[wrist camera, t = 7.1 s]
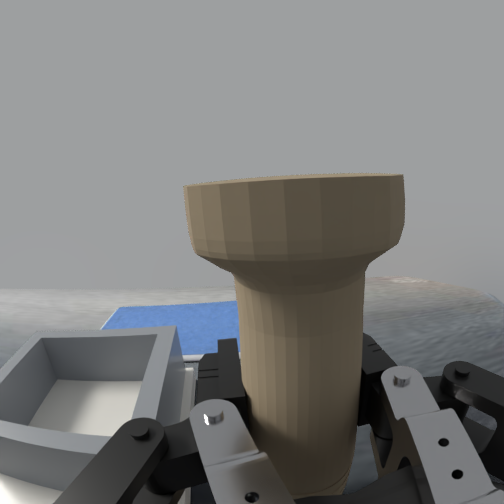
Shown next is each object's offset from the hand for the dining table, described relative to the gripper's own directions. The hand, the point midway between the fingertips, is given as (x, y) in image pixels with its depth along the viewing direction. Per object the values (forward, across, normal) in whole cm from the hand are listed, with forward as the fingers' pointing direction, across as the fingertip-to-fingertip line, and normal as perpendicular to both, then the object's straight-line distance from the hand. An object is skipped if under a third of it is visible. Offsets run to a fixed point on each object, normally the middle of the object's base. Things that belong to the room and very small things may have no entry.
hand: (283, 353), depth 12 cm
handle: (-3, 0, +9) cm, 9 cm away
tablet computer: (+20, +7, +9) cm, 23 cm away
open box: (+2, +12, +8) cm, 15 cm away
